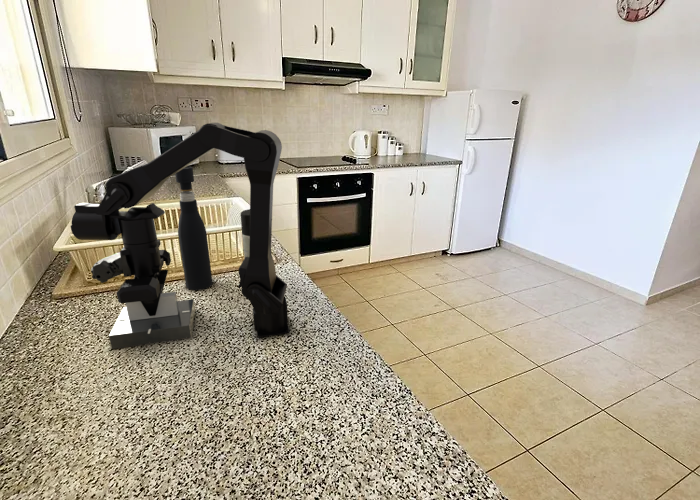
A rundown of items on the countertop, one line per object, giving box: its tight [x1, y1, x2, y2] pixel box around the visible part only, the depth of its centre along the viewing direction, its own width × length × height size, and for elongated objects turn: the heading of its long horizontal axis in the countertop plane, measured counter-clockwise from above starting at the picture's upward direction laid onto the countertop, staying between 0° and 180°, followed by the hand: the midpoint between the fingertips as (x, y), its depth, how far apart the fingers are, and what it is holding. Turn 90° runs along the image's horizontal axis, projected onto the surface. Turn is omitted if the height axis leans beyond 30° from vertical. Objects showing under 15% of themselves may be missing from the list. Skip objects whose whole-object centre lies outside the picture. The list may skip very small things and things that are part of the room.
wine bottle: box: [174, 165, 214, 291], centre depth 91 cm, size 6×6×30 cm
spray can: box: [240, 208, 273, 258], centre depth 92 cm, size 7×7×20 cm
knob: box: [124, 291, 179, 321], centre depth 76 cm, size 9×2×5 cm, turn 107°
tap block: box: [108, 298, 196, 350], centre depth 77 cm, size 14×13×3 cm
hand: (154, 311), depth 76 cm, fingers open, 3 cm apart
